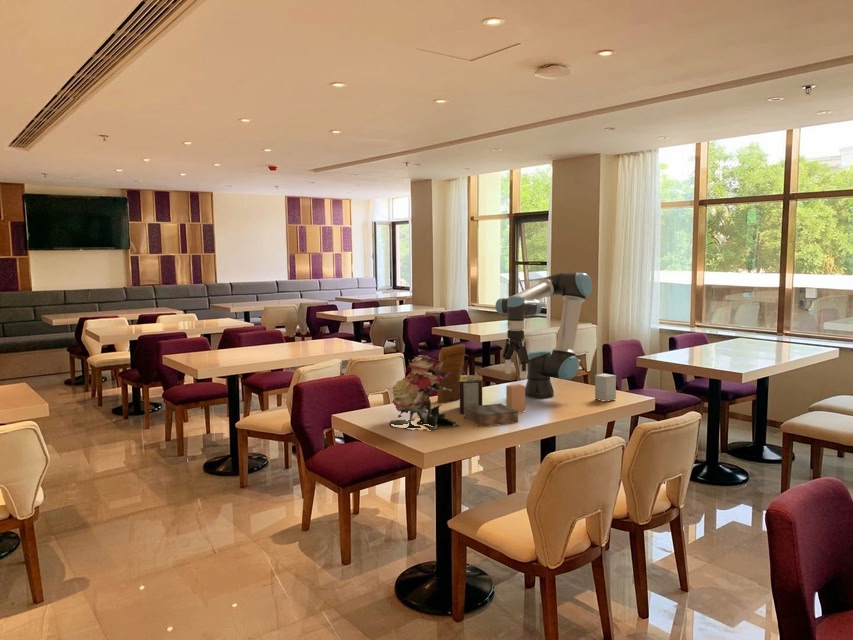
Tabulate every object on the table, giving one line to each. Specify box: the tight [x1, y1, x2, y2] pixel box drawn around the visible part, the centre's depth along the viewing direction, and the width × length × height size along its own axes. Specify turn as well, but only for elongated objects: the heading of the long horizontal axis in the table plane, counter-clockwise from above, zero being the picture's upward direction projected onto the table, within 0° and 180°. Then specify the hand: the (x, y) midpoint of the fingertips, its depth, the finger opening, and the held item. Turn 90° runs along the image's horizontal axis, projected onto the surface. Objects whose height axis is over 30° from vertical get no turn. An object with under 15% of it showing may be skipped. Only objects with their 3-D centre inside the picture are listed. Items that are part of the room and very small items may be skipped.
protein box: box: [459, 374, 483, 415], centre depth 293 cm, size 10×15×16 cm
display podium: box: [463, 403, 519, 427], centre depth 275 cm, size 18×16×5 cm
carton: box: [505, 384, 526, 413], centre depth 290 cm, size 7×5×12 cm
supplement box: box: [594, 373, 617, 401], centre depth 312 cm, size 7×7×13 cm
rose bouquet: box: [389, 354, 459, 431], centre depth 268 cm, size 26×29×30 cm
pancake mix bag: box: [436, 343, 466, 403], centre depth 315 cm, size 7×19×28 cm, turn 129°
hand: (515, 375), depth 289 cm, fingers open, 13 cm apart
